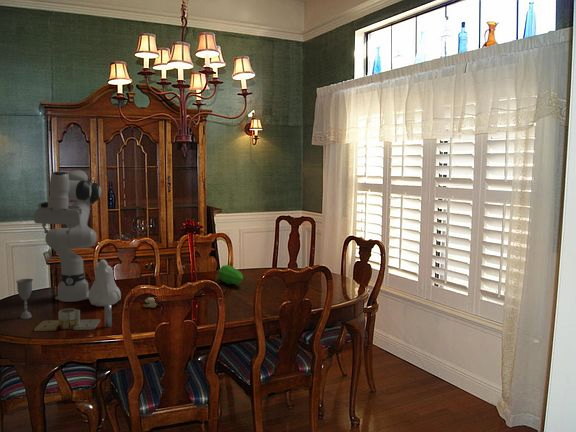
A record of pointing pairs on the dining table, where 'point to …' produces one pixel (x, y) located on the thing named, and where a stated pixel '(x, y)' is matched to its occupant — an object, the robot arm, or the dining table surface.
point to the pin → (108, 315)
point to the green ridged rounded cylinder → (230, 275)
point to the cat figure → (150, 302)
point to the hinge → (68, 322)
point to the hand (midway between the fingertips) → (57, 233)
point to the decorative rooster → (104, 286)
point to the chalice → (25, 294)
